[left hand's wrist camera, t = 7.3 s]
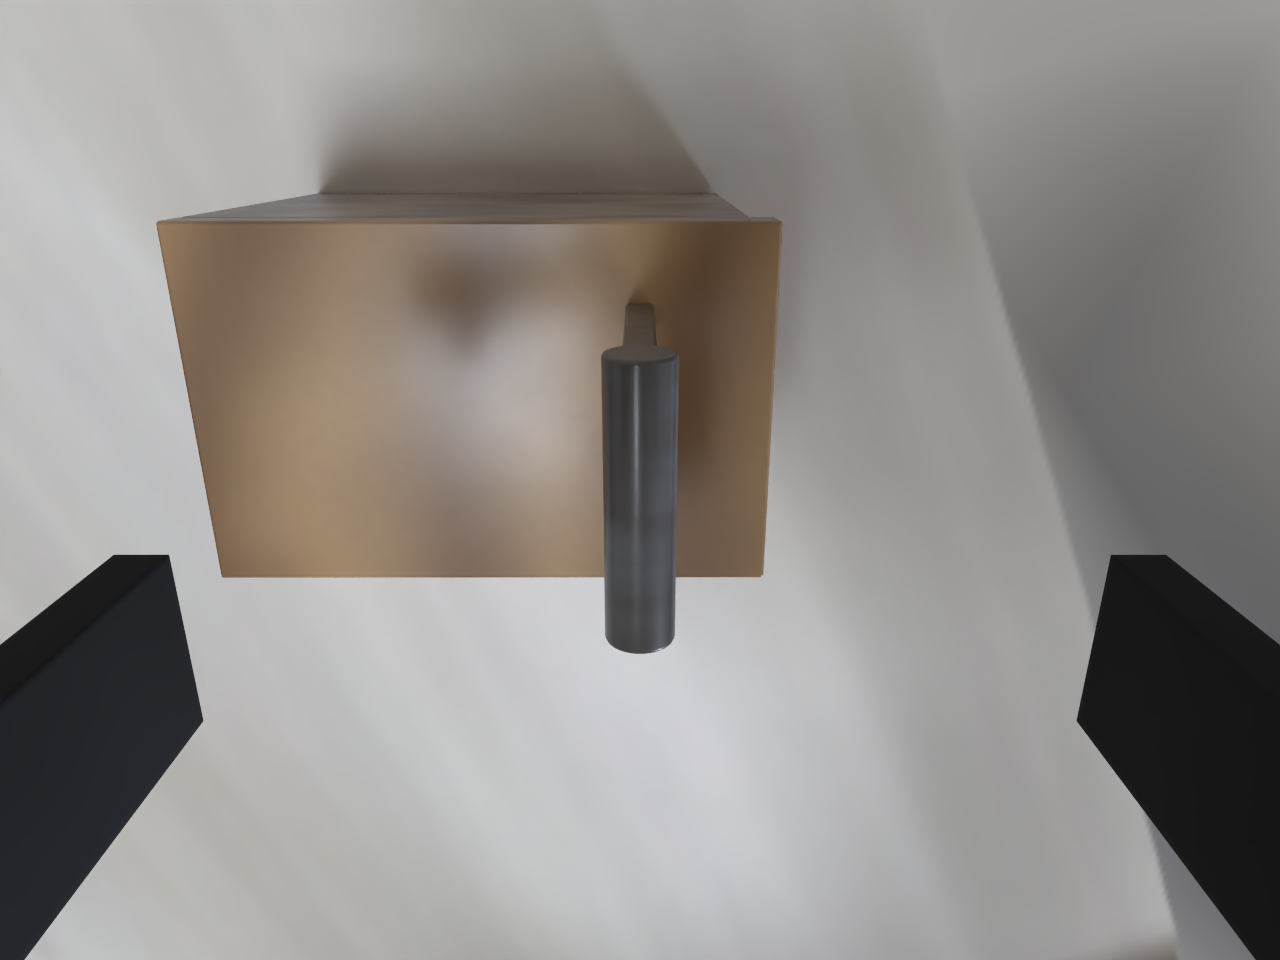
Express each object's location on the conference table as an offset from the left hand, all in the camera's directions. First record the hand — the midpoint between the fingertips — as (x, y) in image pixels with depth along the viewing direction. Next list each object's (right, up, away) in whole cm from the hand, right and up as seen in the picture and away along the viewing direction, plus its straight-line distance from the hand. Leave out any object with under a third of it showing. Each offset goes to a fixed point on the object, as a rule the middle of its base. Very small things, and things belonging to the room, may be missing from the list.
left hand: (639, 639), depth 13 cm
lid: (-4, +4, +12) cm, 13 cm away
